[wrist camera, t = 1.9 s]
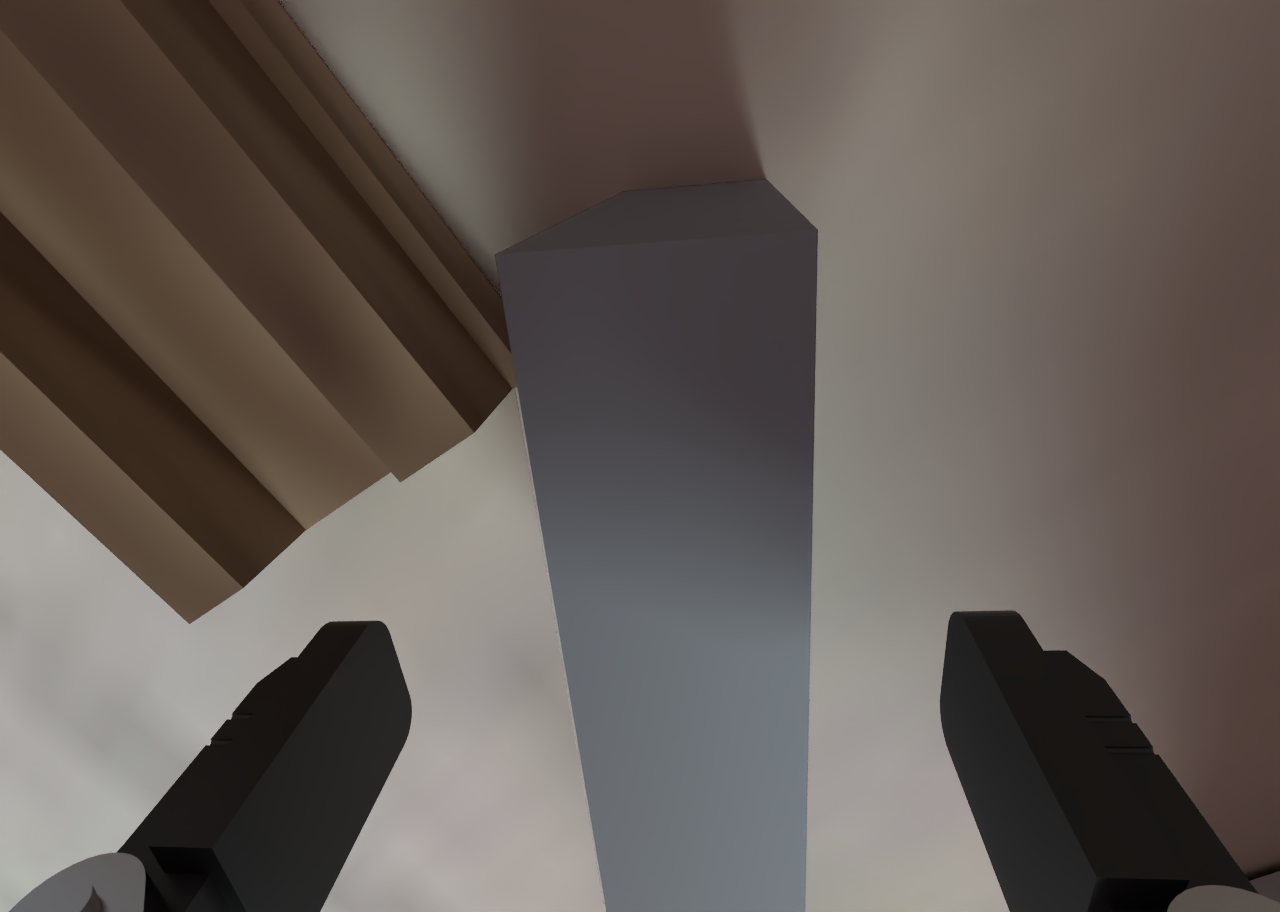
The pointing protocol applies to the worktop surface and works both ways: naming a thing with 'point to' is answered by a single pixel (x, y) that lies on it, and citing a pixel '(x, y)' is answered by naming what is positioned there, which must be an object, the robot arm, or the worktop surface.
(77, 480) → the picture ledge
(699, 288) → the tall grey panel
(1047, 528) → the worktop surface
